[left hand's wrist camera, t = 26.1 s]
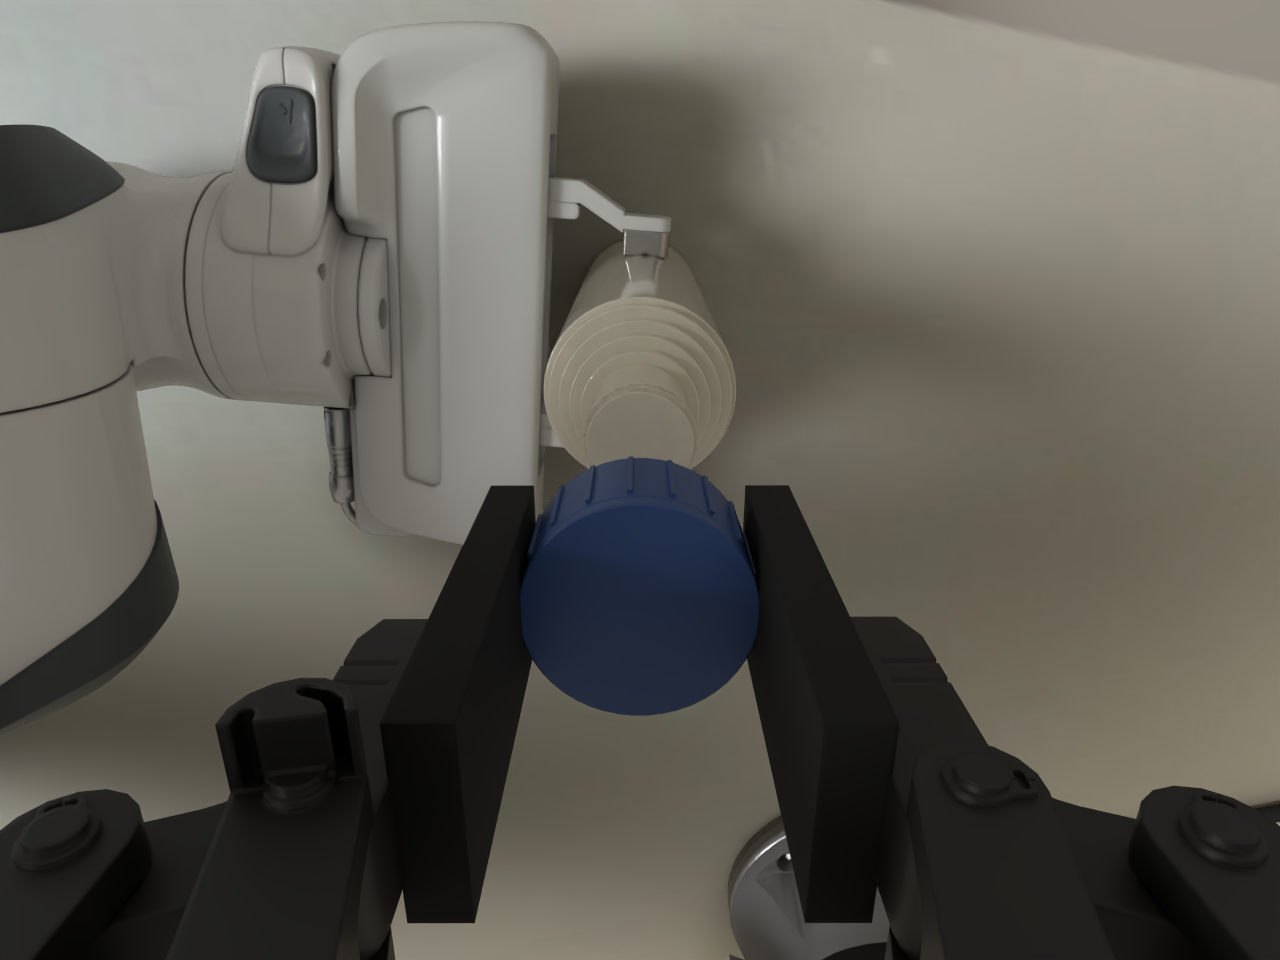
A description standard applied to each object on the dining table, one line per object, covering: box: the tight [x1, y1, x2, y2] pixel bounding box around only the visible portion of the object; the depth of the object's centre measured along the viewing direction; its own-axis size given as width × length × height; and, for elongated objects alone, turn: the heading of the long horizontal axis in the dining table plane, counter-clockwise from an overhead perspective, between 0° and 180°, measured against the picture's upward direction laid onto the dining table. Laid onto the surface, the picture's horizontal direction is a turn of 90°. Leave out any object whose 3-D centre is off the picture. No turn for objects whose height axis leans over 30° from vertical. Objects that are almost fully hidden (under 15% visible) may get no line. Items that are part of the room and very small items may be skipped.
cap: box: [520, 456, 759, 716], centre depth 14 cm, size 4×4×2 cm
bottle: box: [544, 240, 736, 469], centre depth 29 cm, size 6×6×21 cm
